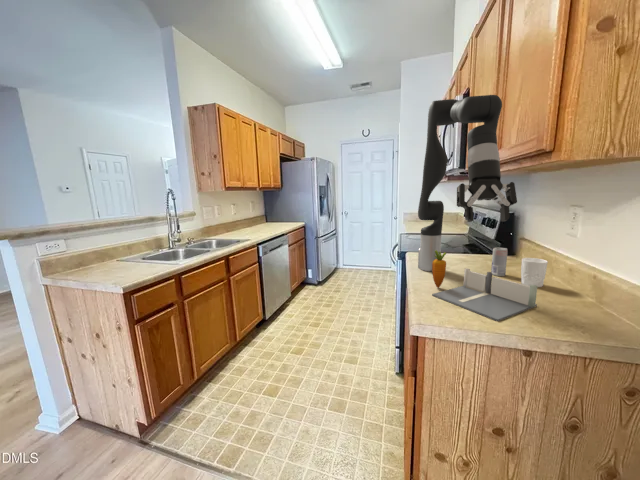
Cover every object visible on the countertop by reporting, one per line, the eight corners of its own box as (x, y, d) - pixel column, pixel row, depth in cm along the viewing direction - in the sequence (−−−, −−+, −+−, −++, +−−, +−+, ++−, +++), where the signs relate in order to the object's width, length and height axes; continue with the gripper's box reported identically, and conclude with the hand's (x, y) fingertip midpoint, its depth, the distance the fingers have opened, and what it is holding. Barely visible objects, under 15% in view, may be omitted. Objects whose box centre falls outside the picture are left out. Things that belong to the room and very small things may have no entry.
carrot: (447, 288, 103) (449, 250, 100) (439, 290, 100) (441, 252, 98) (436, 284, 107) (438, 248, 105) (428, 287, 105) (430, 250, 102)
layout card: (432, 295, 96) (432, 293, 96) (469, 285, 105) (469, 283, 105) (497, 321, 76) (497, 319, 76) (536, 306, 85) (536, 304, 85)
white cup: (514, 282, 107) (517, 258, 105) (528, 280, 109) (531, 256, 107) (535, 289, 99) (538, 263, 98) (549, 286, 102) (552, 261, 100)
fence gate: (490, 293, 94) (491, 276, 92) (493, 292, 94) (494, 275, 93) (533, 307, 82) (535, 287, 81) (536, 306, 83) (538, 286, 81)
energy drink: (500, 272, 120) (503, 247, 118) (508, 276, 115) (510, 249, 113) (488, 272, 120) (490, 247, 118) (495, 276, 115) (497, 249, 113)
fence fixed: (462, 286, 103) (463, 266, 102) (465, 285, 104) (466, 266, 103) (488, 294, 94) (490, 273, 93) (491, 293, 95) (493, 272, 93)
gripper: (503, 168, 76) (507, 223, 74) (451, 170, 78) (454, 224, 75) (519, 157, 68) (524, 218, 66) (461, 159, 70) (464, 218, 68)
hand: (487, 221), depth 71 cm, fingers open, 8 cm apart
